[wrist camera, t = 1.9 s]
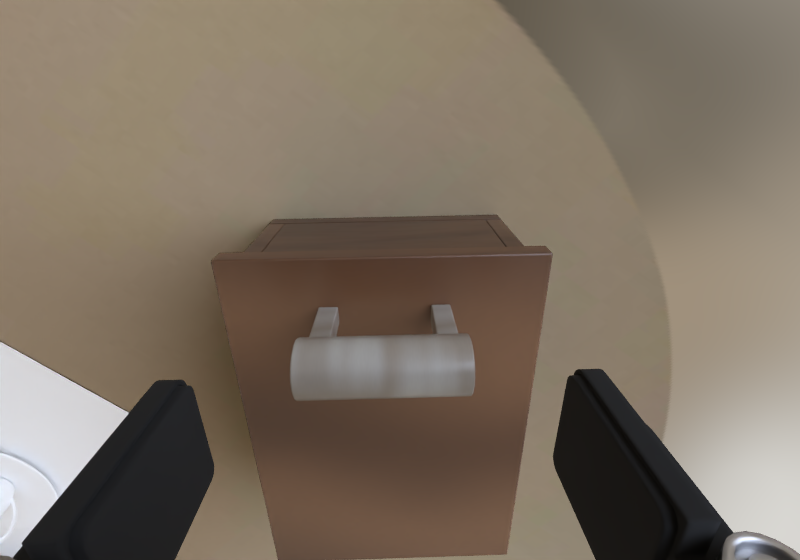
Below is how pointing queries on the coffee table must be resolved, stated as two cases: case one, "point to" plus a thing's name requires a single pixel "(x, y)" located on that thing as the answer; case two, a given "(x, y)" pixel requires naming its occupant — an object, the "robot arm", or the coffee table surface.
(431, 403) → the cover
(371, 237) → the case
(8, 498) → the teacup and saucer
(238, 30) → the coffee table surface
